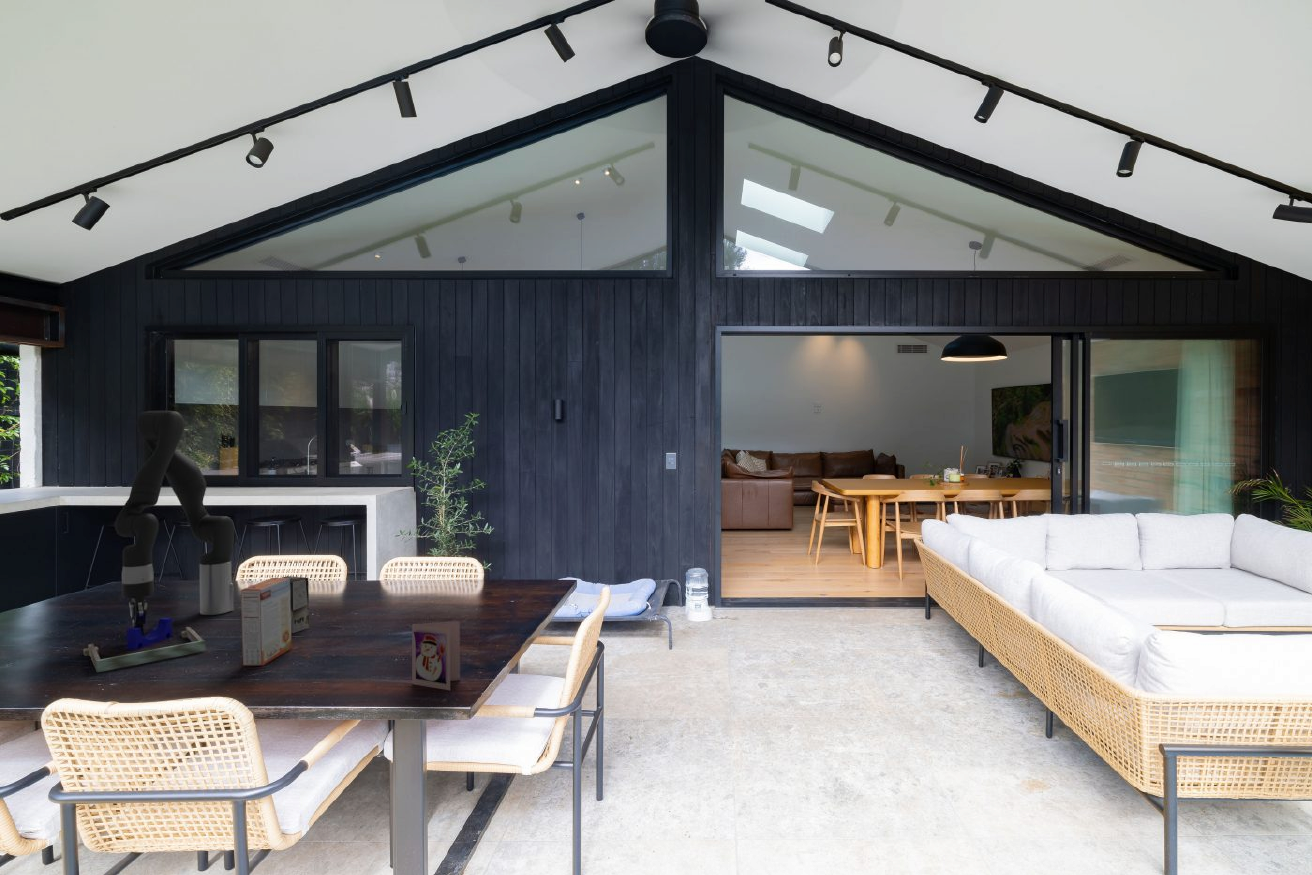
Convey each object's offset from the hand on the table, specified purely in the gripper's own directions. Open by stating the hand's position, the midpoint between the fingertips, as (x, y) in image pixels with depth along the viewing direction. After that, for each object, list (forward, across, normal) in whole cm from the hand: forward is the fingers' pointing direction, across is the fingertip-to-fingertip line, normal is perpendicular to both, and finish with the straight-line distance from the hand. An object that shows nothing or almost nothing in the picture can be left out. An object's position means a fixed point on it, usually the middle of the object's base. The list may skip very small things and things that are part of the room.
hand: (138, 637), depth 202 cm
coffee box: (+1, -19, -36) cm, 41 cm away
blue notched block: (+2, -4, -2) cm, 4 cm away
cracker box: (+1, -43, -24) cm, 49 cm away
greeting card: (+1, -93, -49) cm, 106 cm away
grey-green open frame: (+1, -14, 0) cm, 14 cm away
